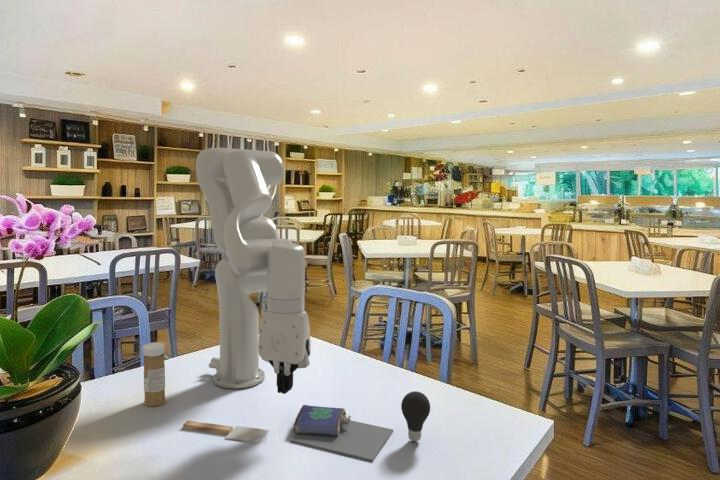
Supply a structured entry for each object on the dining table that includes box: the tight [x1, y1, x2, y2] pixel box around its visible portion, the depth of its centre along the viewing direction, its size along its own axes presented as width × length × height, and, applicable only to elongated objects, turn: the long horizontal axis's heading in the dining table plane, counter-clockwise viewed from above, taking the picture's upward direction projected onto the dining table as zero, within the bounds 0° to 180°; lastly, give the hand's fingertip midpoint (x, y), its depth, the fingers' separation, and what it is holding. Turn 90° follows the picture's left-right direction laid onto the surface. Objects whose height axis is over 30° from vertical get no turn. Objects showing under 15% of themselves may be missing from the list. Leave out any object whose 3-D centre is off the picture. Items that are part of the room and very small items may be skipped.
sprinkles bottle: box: [142, 341, 166, 407], centre depth 108 cm, size 5×5×14 cm
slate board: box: [290, 419, 394, 463], centre depth 96 cm, size 17×12×1 cm
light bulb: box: [400, 391, 431, 443], centre depth 94 cm, size 6×6×10 cm
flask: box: [293, 404, 352, 436], centre depth 99 cm, size 9×3×11 cm
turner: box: [182, 420, 269, 445], centre depth 97 cm, size 17×5×1 cm, turn 78°
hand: (284, 390), depth 101 cm, fingers closed
